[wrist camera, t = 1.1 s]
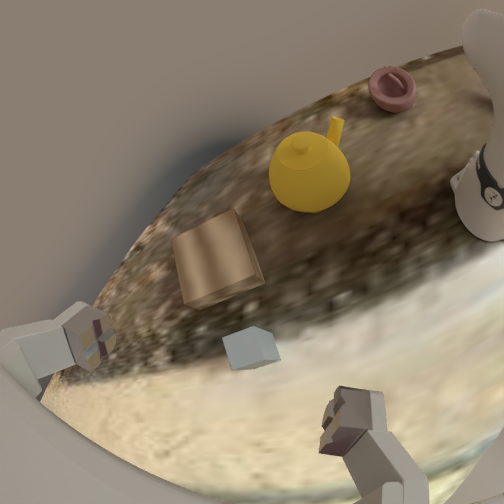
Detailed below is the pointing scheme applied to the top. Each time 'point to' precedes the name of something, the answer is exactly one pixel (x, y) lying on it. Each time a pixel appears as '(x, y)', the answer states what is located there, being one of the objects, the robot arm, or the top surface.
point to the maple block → (216, 261)
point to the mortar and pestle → (392, 89)
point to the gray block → (251, 349)
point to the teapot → (310, 170)
